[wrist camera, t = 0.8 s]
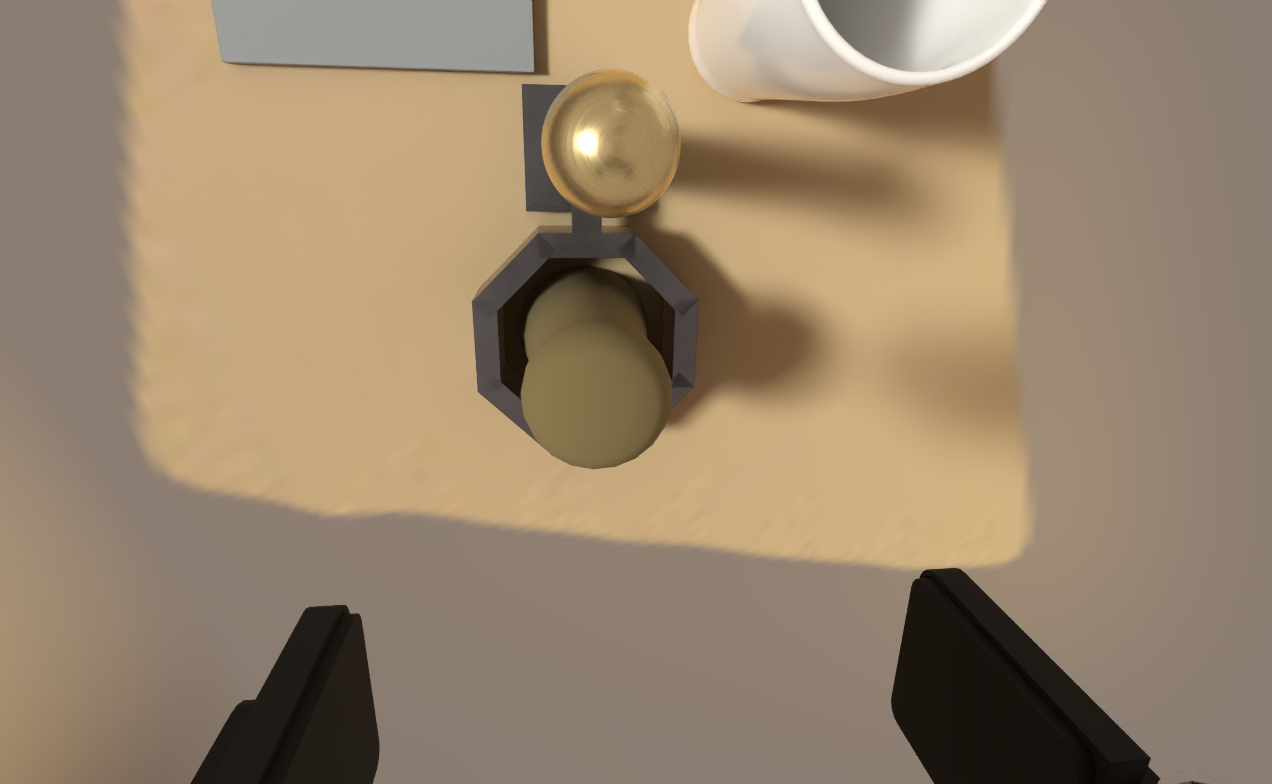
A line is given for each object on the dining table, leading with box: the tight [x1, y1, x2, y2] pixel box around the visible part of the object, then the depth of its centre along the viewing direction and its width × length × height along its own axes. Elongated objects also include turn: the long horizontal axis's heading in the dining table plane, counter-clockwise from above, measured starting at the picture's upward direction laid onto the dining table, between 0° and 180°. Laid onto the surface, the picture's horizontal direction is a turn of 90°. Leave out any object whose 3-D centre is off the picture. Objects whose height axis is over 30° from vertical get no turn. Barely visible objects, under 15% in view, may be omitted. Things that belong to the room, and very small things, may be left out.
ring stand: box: [472, 69, 698, 449], centre depth 23 cm, size 15×10×16 cm, turn 179°
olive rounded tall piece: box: [520, 266, 672, 469], centre depth 26 cm, size 6×6×11 cm
